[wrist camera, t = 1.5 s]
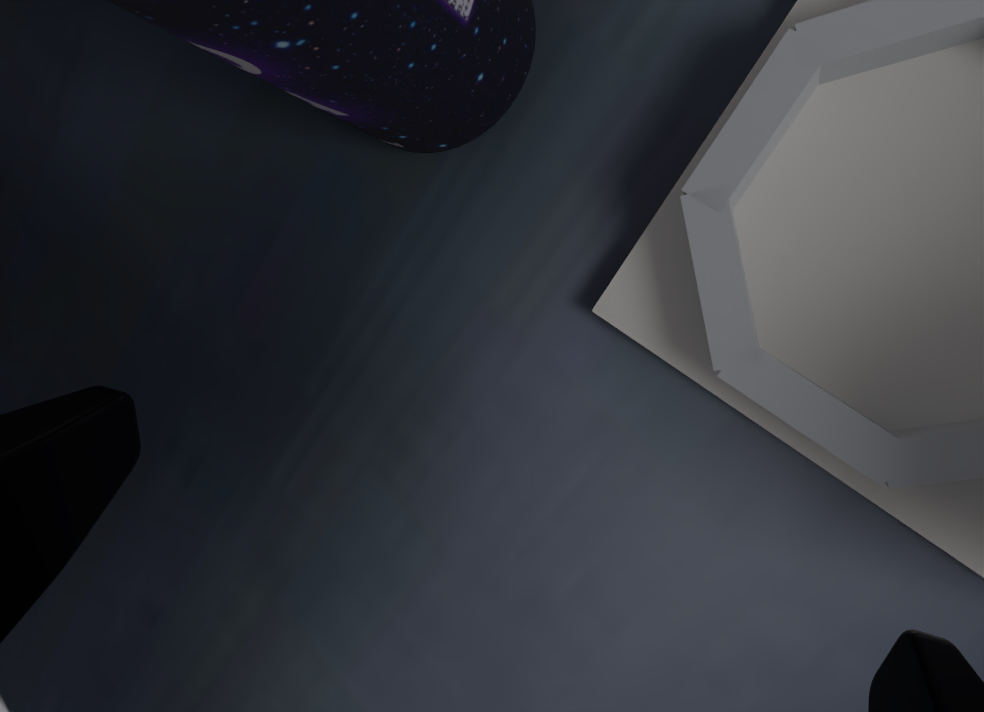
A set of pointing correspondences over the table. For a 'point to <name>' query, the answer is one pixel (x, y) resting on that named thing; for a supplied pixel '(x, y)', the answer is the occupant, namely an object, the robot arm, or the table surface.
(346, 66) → the beverage can
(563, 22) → the table surface
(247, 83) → the table surface
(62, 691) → the table surface
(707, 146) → the mount
